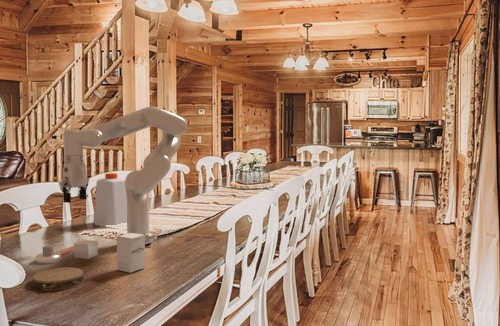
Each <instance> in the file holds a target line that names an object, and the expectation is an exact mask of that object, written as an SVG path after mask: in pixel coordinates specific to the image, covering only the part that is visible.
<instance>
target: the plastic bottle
mask: <svg viewBox="0 0 500 326" xmlns="http://www.w3.org/2000/svg"><path fill="white" fill-rule="evenodd" d="M104 176H105V177H104V178H100V179H99V178H98V179H97V180H96V186H95V187H96V188H95V189H96V190H95V207H94V208H95V209H94V225H95V226H97V225H101V226H100V227H102V226H106V225H117V224H121V223H126V222H127V199H126V189H125V179H126V178H122V177H118V173H116V172H110V173H109V172H108V173H105V174H104Z"/></svg>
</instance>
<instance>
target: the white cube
mask: <svg viewBox="0 0 500 326" xmlns="http://www.w3.org/2000/svg"><path fill="white" fill-rule="evenodd" d="M73 246H74V252H73V254H74V259H85V260H90V259H92V258H94V257H96V256H98V255H99V249H98V248H99V245H98V240H90V239H83V240H81V241H77V242H75V243H74V244H73Z"/></svg>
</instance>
